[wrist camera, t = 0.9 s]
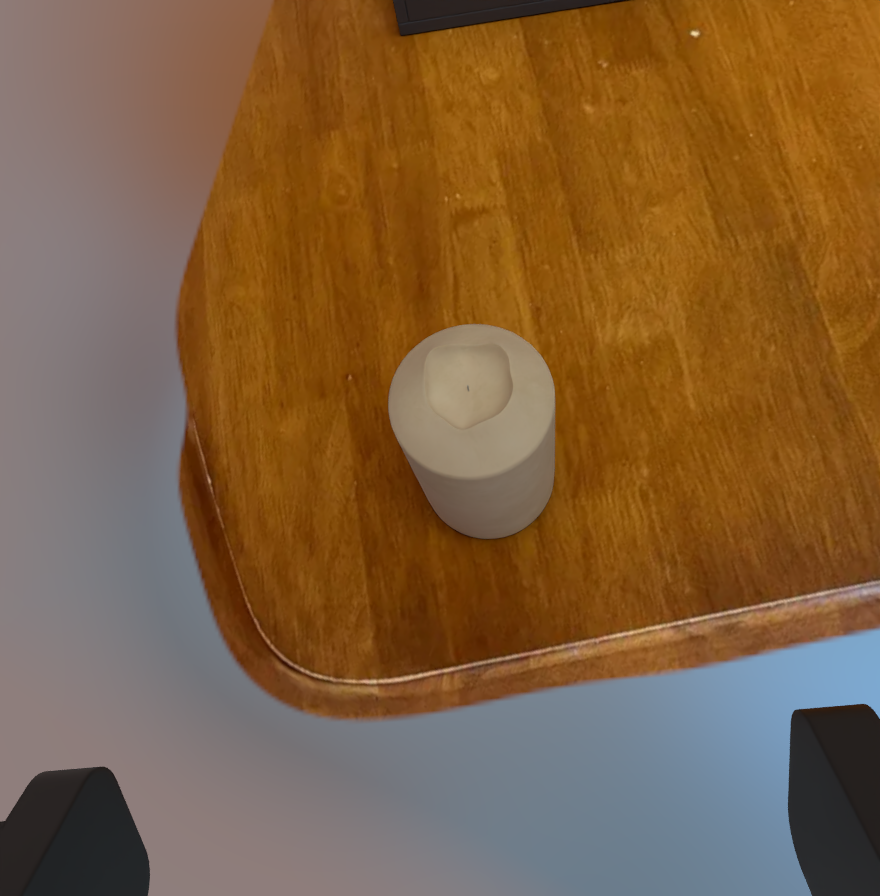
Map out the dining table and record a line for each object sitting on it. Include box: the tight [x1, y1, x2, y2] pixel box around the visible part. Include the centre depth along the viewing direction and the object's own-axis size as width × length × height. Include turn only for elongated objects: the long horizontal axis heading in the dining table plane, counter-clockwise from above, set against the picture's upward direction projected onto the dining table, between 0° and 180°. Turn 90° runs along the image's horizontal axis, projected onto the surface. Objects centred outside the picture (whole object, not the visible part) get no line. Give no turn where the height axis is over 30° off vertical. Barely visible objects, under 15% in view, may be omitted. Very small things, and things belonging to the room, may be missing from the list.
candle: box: [388, 324, 555, 539], centre depth 30 cm, size 6×6×10 cm
